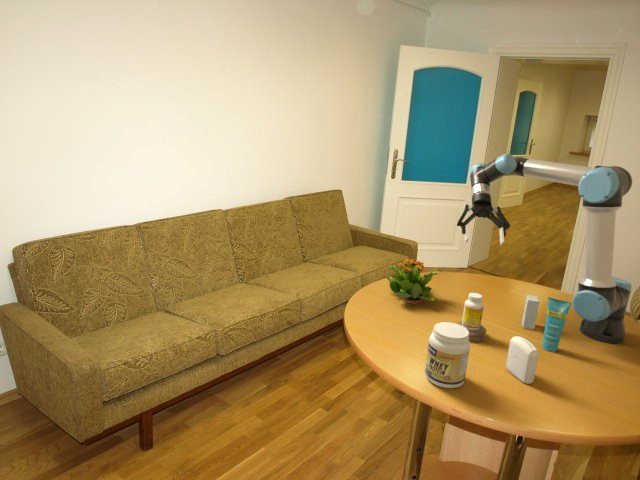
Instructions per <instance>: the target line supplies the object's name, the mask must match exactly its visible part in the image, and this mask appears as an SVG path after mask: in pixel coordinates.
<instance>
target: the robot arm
mask: <svg viewBox="0 0 640 480" xmlns="http://www.w3.org/2000/svg"><path fill="white" fill-rule="evenodd" d="M509 176H517V177H519V176H520V177H524V178H533V179H536V180H544V181H547V182H554V183H559V184H564V185H565V184H566V185H572V186H576V187H578V193H579V196H580V197H581V198H582V208H584V209H585V211H586V224H585V225H586V226H585V227H586V229H585V245H584V246H585V247H584V262H583V263H584V264H583V265H584V267H583V276H582V277H581V278H580V279H578V282H577V283H578V286H577V293H576V294H574V296H573V299H572V301H571V302H572V303H571V304H572V308H573V310H574V312H575V314H577V316H579V317H580V318H582V320H581V322H580V325H579V331H580V332H581V333H582V334H583V335H585V336H586V337H588V338H591V339H593V340H596V341H598V342H603V343H610V344H620V343H622V342H625V339H626V328H625V327H626V326H625V320H624V319H625V315H626V313H627V312H626V311H627V308H628V303H629V300H630V297H631V296H630V295H631V293H632V289H633V288H632V287H633V286H632V283H631V282H630V281H627V280H626V279H624V278H620V277H615V276H612V275H613V262H614V260H613V259H614V249H615V248H614V247H615V246H614V245H615V233H616V231H615V229H616V216H617V215H616V213H617V211H618V210H619V209H621V208H622V206H623V205H622V204H623V197H624V196H625V195H627V194H628V193H629V192H630V190H631V188H632V187H633V176H632V175H631V173H630V172H629V171H628V170H627V169H626V168H624V167H621V166H617V165H613V166H606V165H598V164H597V165H595V166H592V167H590V166H584V165H577V164H570V163H563V162H555V161H547V160H541V159H534V158H527V157H525V156H513V155H512V154H510V153H504V154H502V155H499V156H498V157H497V158H494V159H493V160H492V161H490V162H488V163H482V162H480V163H476V164H473V165H472V166H471V168H470V174H469V178H470V184H471V186H470V187H471V191H470V192H471V206H470V205H469V204H465V206H464V208H463V209H464V210H463V212H462V213H461V216H460V217H459V219H458V220H457V223H456V226H457V227H460V228H461V234H462V235H464V243H466V244H467V243H468V242H469V225H468V224H470V222H472V221H473V219H475V218H476V217H478V218H483V219H486V218H487V219H488V220H489V221H491V222H492V223H493V224H494V225H496V227H497V228H498V229H499V231H498V232H499V233H498V235H499V243H500V244H499V245H500V246H503V245H504V244H505V238H506V236H507V230H509V229H510V227H511V224H510V222H509V221H508V219H507V218H506V217H505V215H504V214H503V212H502V209H501V206H497V207H493V206H492V193H491V183H493V182H495V181H496V180H498V179H501V178H503V177H509ZM470 211H471V213H472V214H470V215H469V216H468V217H467V218H466V219H465V217H466V215H467V214H468V212H470ZM464 219H465V220H464ZM463 220H464V221H463Z"/></svg>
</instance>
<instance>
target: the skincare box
mask: <svg viewBox="0 0 640 480" xmlns="http://www.w3.org/2000/svg"><path fill="white" fill-rule="evenodd" d="M539 305H540V299H539V296H537V295H531V294H527V295H526V298H525V303H524V308H523V309H524V310H523V312H522V314H523V315H522V319H521V324H522V325H521V326H522V328H523V329H526V330H532V331H533V330H535V327H536V322H537V317H538V312H539V307H540V306H539Z"/></svg>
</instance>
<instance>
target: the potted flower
mask: <svg viewBox="0 0 640 480" xmlns="http://www.w3.org/2000/svg"><path fill="white" fill-rule="evenodd" d="M424 264H425V263H424V262H421V261H420V260H417V261H415V259H413V258H411V259H408V258H407V259H404V263H398V266H397V265H396V264H393V265H391V264H389V266H388V269H391V270H394V271H395V272H396V273H395V274H392V275H391V277H389V276H388V275H386V274H385V275H384V276H385V278H386V280H387V281H389V288H390V290H391V291H392V292H393V293H394V294H396V295H397V296H398V297H400V298H401V299H402V301H404V302H407V303H409V302H410V303H409V304H419V303H422V302H423V301H435V298H434V297H433V296H431V295H430V296H428V297H425V296H427V295H428V294H430V292H431V291H432V289H433V288H432V287H431V286H427V284H429V282H431V280H432V279H433V277H434V276H435V275H440V274H441V272H440V271H438V270H435V271H433V272H430V273H428V274H424V275H422V274H421V273H424V271H425V265H424ZM402 269H403V270H402Z"/></svg>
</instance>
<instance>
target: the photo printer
mask: <svg viewBox="0 0 640 480" xmlns="http://www.w3.org/2000/svg"><path fill="white" fill-rule="evenodd" d="M538 360H539V351H538V349H537V348H536V346H535V345H534V344H533V343H532V342H530V341H529V340H527V339H526V338H524V337H522V336H518V335H516V336H513V337H511V339H510V341H509V346H508V352H507V356H506V364H505V368H506V369H507V370H508V371H509V373H511V374H512V375H513V376H515V377H516V378H517V379H518V380H520V381H521V382H522V383H525V384H526V385H527V384H528V385H529V384H530V385H531V384H532V383H533V382H534V381H535V378H536V371H537V367H538Z"/></svg>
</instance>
